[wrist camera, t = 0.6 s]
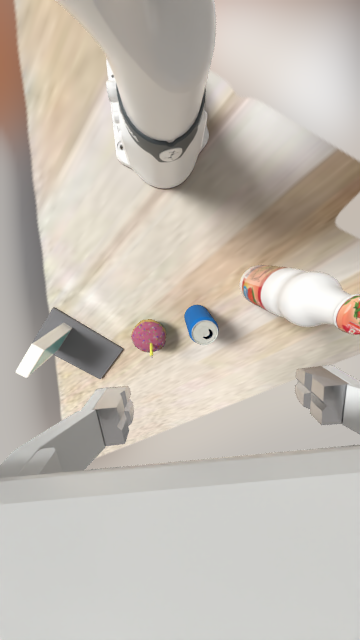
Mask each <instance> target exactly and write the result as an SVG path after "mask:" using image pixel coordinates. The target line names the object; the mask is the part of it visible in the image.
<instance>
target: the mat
mask: <svg viewBox="0 0 360 640" xmlns="http://www.w3.org/2000/svg"><path fill="white" fill-rule="evenodd" d="M62 323H65V324H67V325H69V326H70V327H72V329H71V331H70V332H69V334H68V336H67V337H66V339H65V340H64V342H63V343H62V345H61V346H60V348H59V350H58V351H57V352H55V353H54V354H53V355H55V356H57V357H59V358H61V359H63V360H64V361H66V362H68V363H70V364H72V365H74V366H76V367H78V368H80V369H82V370H83V371H85V372H87V373H89V374H91V375H93V376H95V377H97V378H99V379H101V378H102V377H103V375H104V374H105V373H106V371H107V370H108V369H109V367H110V366H111V365H112V363H113V362H114V361H115V359H116V358H117V357H118V355H119V354H120V352H121V351H122V350H123V348H122V347H120V346H118V345H117V344H115V343H113V342H112V341H110V340H108V339H107V338H105V337H103V336H102V335H100V334H98V333H97V332H95V331H93V330H92V329H90V328H88V327H87V326H85V325H83V324H81V323H80V322H78V321H76V320H75V319H73V318H71V317H70V316H68V315H66V314H65V313H63V312H61V311H60V310H58V309H56V308H55V307H54V308H53V309H52V310H51V312H50V314H49V315H48V317H47V319H46V320H45V322H44V324H43V326H42V327H41V329H40V331H39V332H38V334H37V336H36V338H35V339H34V341H33V342H32V343H34V342H35V341H37V340H38V339H40V338H41V337H43V336H44V335H46V334H47V333H49V332H50V331H52V330H53V329H55V328H56V327H58V326H59V325H61V324H62Z"/></svg>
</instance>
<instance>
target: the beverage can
mask: <svg viewBox="0 0 360 640" xmlns="http://www.w3.org/2000/svg"><path fill="white" fill-rule="evenodd" d="M184 317H185V322H186V325H187V328H188V332H189V335H190V337H191V339H192V340H193V341H194V342H196V343H198V344H200V345H208V344H210V343H212V342H213V341H215V339H216V338H217V336H218V325H217V323H216V321H215V320H214V319H213V317H212V316H211V315H210V313H209V312H208V311H207V309H206V308H205V307H203V306H201V305H193V306H191V307H189V308H188V309H187V310H186V312H185V316H184Z"/></svg>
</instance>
